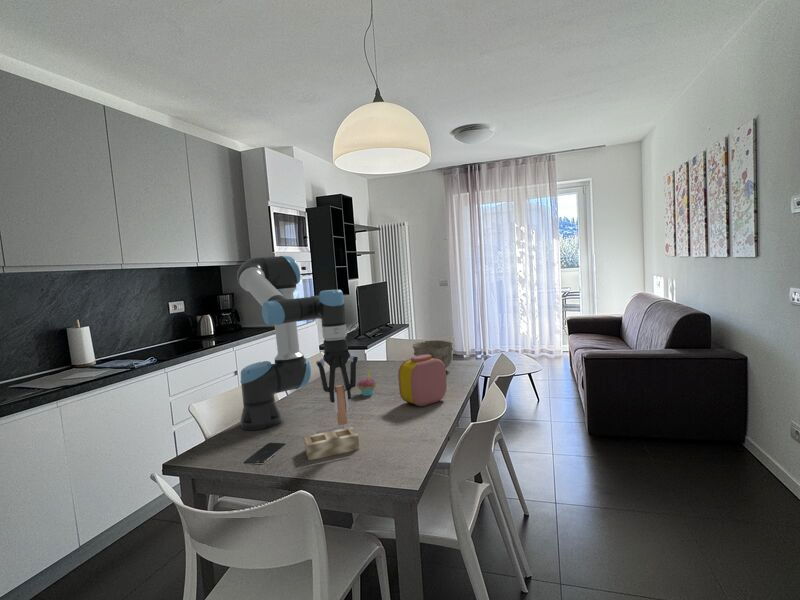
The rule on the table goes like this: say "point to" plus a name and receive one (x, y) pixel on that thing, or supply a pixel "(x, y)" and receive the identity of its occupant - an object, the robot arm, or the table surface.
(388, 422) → the table surface
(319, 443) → the hole block
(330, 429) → the mat
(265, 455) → the smartphone
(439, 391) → the alarm clock
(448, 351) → the bowl
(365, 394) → the cupcake
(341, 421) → the peg
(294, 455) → the table surface
